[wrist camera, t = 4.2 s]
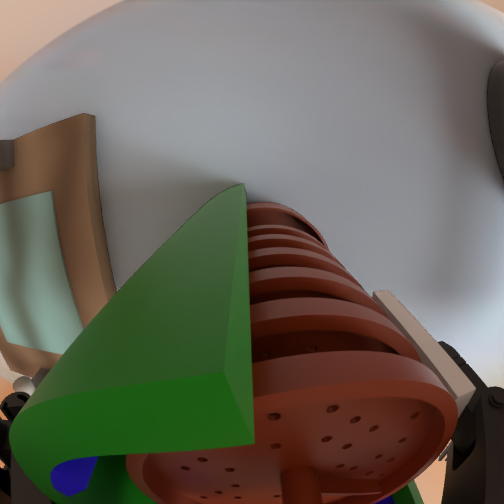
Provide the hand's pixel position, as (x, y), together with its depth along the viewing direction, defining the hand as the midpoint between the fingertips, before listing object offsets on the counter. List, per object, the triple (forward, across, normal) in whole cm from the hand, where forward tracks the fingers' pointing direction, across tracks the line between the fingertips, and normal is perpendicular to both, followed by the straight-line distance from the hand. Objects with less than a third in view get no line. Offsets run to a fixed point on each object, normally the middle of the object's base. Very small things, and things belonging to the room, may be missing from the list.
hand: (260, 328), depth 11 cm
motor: (+7, 0, 0) cm, 7 cm away
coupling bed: (+7, +19, 0) cm, 20 cm away
